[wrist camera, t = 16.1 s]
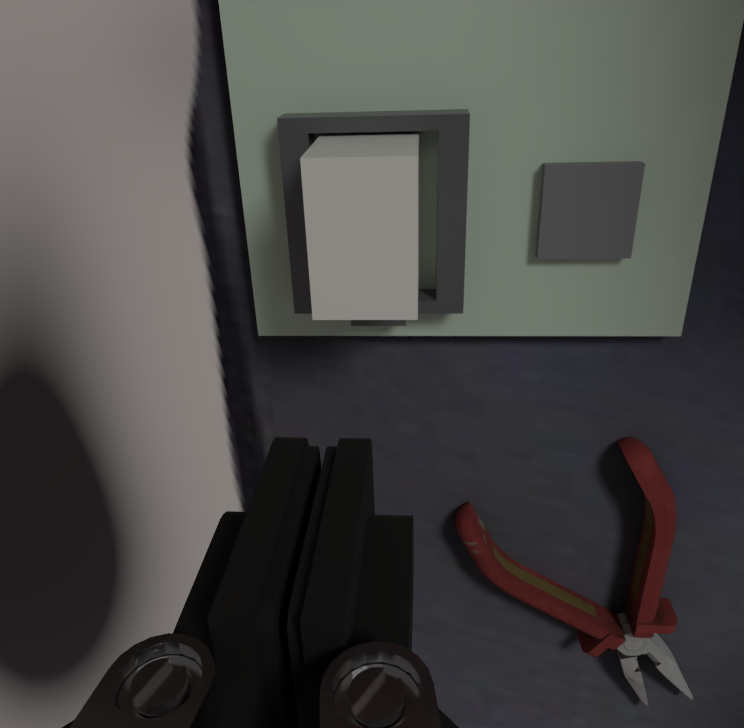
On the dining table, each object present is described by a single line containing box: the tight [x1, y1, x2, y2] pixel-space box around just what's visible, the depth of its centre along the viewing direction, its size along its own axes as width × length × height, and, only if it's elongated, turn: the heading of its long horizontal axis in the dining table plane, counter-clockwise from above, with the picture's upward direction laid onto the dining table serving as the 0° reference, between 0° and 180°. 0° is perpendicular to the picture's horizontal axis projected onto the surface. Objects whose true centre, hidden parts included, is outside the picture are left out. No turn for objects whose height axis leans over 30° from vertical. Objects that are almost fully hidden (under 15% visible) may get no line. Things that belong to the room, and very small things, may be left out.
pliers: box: [455, 437, 693, 710], centre depth 39 cm, size 12×20×3 cm, turn 30°
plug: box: [300, 131, 419, 320], centre depth 27 cm, size 4×7×6 cm, turn 2°
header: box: [277, 109, 470, 326], centre depth 29 cm, size 8×9×2 cm
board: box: [218, 0, 744, 336], centre depth 27 cm, size 20×22×2 cm
